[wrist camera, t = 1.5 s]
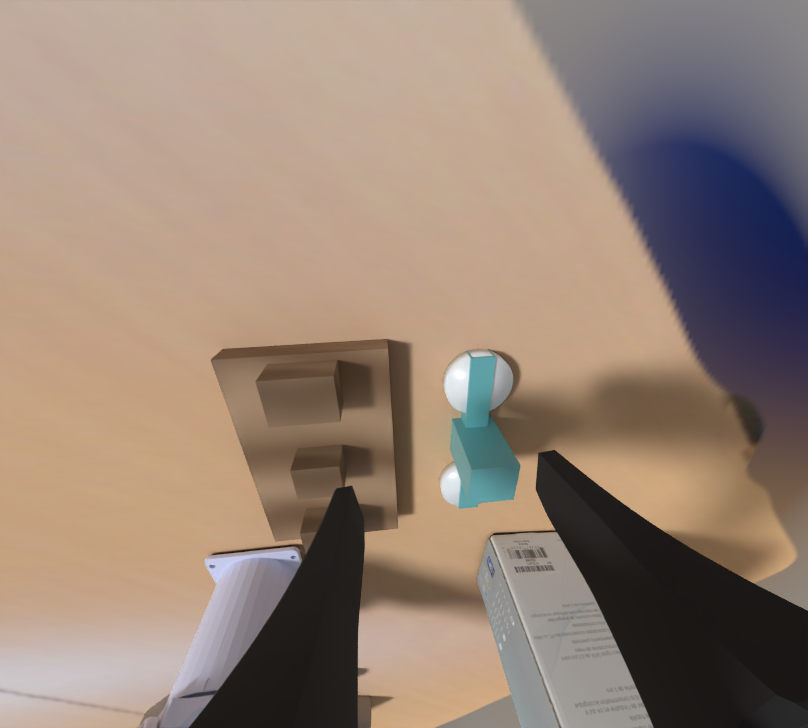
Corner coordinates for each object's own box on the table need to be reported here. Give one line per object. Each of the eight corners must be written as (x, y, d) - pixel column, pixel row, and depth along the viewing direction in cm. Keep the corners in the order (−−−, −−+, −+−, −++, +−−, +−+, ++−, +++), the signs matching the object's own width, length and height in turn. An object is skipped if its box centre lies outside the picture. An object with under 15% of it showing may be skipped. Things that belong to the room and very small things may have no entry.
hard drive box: (473, 577, 32) (599, 1026, 14) (487, 532, 29) (673, 1045, 11) (605, 569, 34) (862, 959, 16) (632, 525, 30) (996, 957, 13)
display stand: (396, 512, 26) (400, 552, 23) (280, 524, 25) (267, 567, 22) (386, 339, 19) (389, 363, 16) (222, 349, 18) (191, 377, 15)
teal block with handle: (489, 493, 26) (513, 550, 22) (438, 498, 26) (452, 557, 21) (511, 346, 20) (551, 384, 15) (443, 350, 20) (464, 390, 15)
